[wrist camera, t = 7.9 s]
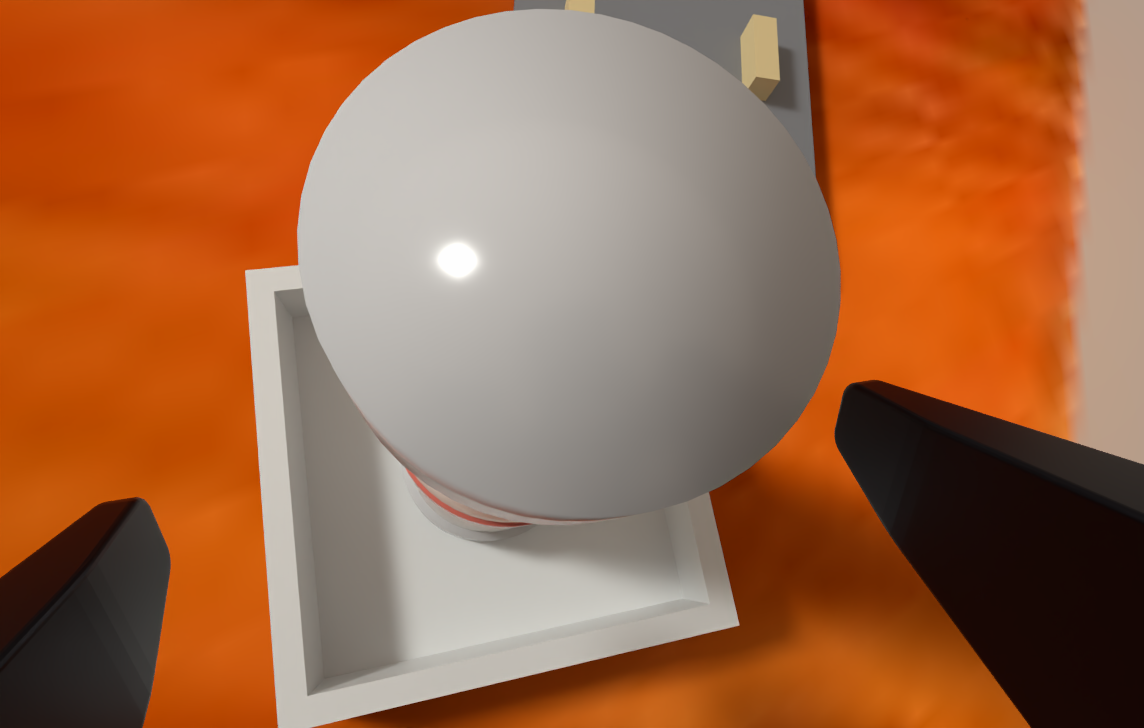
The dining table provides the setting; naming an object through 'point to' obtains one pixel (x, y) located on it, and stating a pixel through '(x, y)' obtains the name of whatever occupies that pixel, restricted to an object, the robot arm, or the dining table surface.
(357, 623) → the parts tray
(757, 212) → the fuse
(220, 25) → the dining table surface
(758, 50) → the panel
